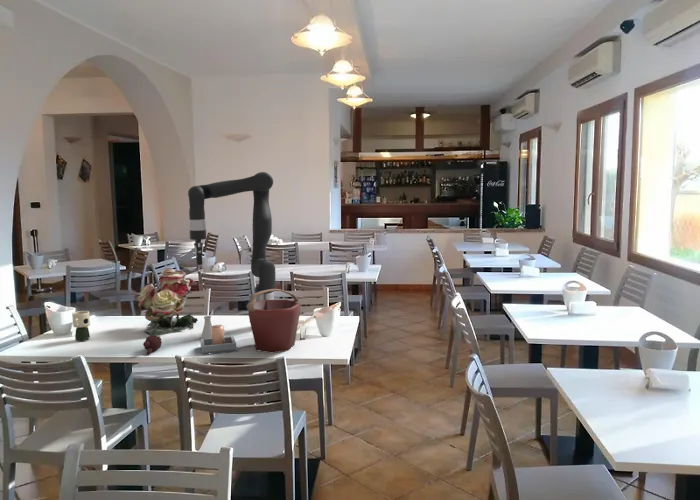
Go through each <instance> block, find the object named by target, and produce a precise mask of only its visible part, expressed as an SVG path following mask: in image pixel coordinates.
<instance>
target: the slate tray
mask: <svg viewBox="0 0 700 500" xmlns="http://www.w3.org/2000/svg"><path fill="white" fill-rule="evenodd" d="M224 342H225V344H216V345H212V338H207V339H200V350H201V355H202V354H206V355H210V354H209V353H216V354H221V353H220V352H226V353H233V352H232V351H236V352H237V342H236V339H235V337H234V335H232V336H230V335H229V336H224Z"/></svg>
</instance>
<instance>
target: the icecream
mask: <svg viewBox="0 0 700 500" xmlns="http://www.w3.org/2000/svg"><path fill="white" fill-rule="evenodd" d="M162 343H163V341H162V337H161V336H160V335H151V334H150V335H148V336H147V337H146V338H145V341H144V342H143V344H142V345H143V347H144V349H145V350H146V355H147V356H149V354H150V355H151V354H152V353H153V352H154V351H157V350H159V349H160V348H161V347H162Z"/></svg>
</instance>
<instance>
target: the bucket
mask: <svg viewBox="0 0 700 500" xmlns="http://www.w3.org/2000/svg"><path fill="white" fill-rule="evenodd" d="M271 291H274V292H282V293H285V294H287V295H289V296H291V297H292V298H293V300H291V299H287V298H286V299H274V300H262V301H257V302H256V298H257V296H259V295H261V294H264V293H267V292H271ZM299 300H300V299H299V298H298V297H297V296H296V295H295V294H294V293H291V292H289V291H287V290H283V289H279V288H274V289H269V290H263V291H260V292H257V293H255V292H254V293H253V294H251V295H250V301H249V302H248V303H247V305H246V306H245V307H246V308H247V311H248V320H249V323H250V327H251V331H252V336H253V341H254V345H255V350H256V351H258V352H264V353H270V352H273V353H279V351H280V352H286V351H285V350H287V351H289V350H290V349H292V348H293V347H295V345H296V339H297V338H296V337H297V333H298V326H299V319H300V315H301V303H300V302H299ZM291 347H292V348H291Z"/></svg>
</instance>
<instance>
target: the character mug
mask: <svg viewBox="0 0 700 500" xmlns="http://www.w3.org/2000/svg"><path fill="white" fill-rule="evenodd" d="M71 315H72V316H71V317H72V325H73V328H75V336H74V339H75V341H80V342H83V341H88V340H90V339H91V335H90V331H89V326H91V321H90V318H91V317H90V316H91V315H90V311H89V310H78V311H74V312H72V314H71Z"/></svg>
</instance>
